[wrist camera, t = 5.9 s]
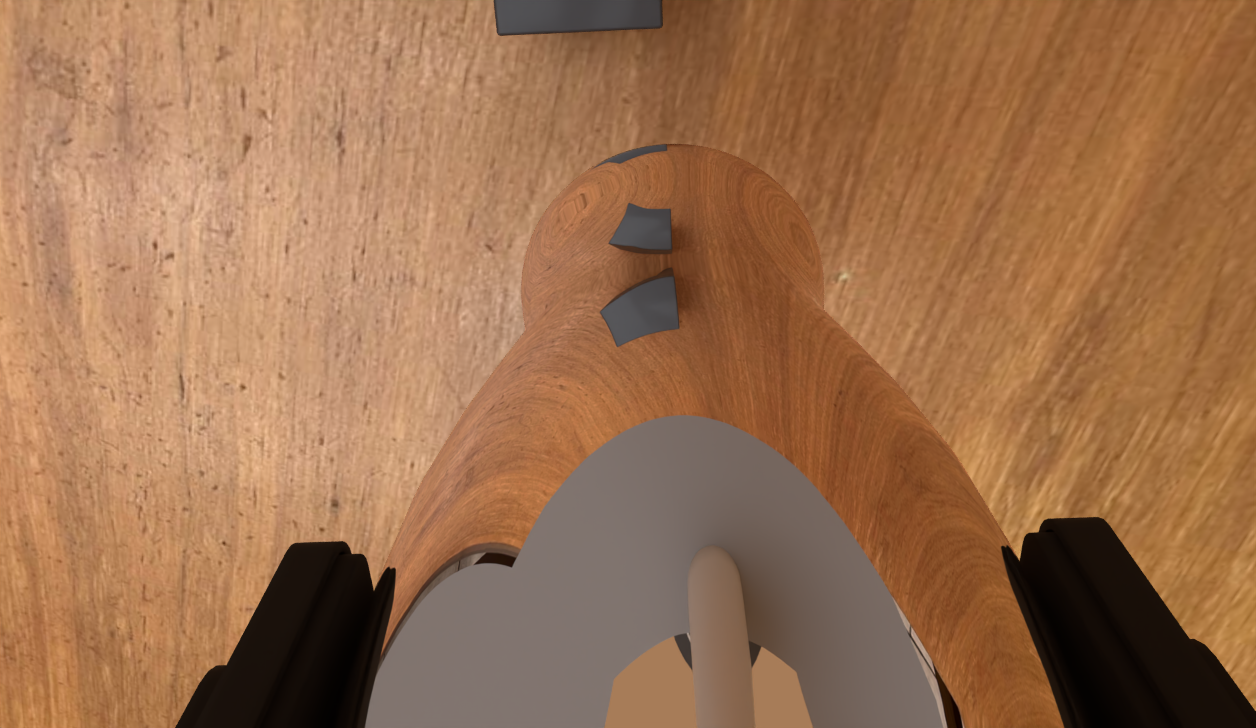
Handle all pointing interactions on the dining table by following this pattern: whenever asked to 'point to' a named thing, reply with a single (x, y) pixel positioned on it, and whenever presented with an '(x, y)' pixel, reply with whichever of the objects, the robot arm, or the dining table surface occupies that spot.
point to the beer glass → (697, 502)
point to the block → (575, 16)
